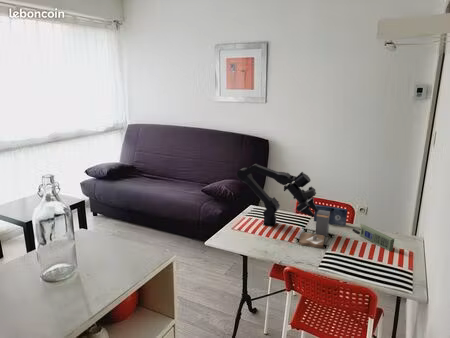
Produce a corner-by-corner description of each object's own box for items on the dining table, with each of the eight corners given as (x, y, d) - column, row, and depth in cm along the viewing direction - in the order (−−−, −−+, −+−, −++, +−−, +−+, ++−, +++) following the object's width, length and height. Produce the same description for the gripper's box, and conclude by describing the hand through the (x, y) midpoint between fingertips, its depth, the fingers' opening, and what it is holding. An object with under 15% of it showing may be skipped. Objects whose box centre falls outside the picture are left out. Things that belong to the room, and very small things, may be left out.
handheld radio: (389, 252, 168) (350, 232, 190) (393, 250, 170) (354, 231, 191) (391, 239, 167) (352, 221, 188) (395, 238, 168) (356, 220, 190)
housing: (315, 234, 186) (316, 213, 183) (317, 230, 192) (318, 209, 188) (326, 236, 184) (328, 215, 181) (328, 232, 189) (330, 211, 186)
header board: (298, 244, 175) (299, 237, 174) (301, 234, 186) (301, 227, 185) (322, 248, 171) (323, 240, 170) (324, 238, 182) (324, 231, 181)
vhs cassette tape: (346, 224, 200) (347, 209, 197) (345, 226, 197) (347, 210, 194) (314, 219, 207) (315, 204, 205) (313, 221, 205) (314, 205, 202)
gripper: (303, 188, 177) (323, 211, 175) (311, 179, 193) (329, 200, 191) (288, 200, 182) (307, 223, 180) (296, 190, 198) (314, 211, 196)
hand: (315, 213), depth 187 cm, fingers open, 9 cm apart
